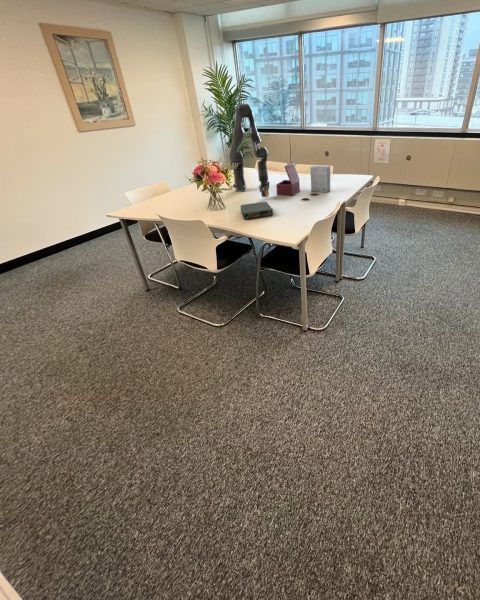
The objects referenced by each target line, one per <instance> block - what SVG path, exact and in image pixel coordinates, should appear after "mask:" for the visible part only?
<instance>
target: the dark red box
mask: <svg viewBox="0 0 480 600" xmlns="http://www.w3.org/2000/svg"><path fill="white" fill-rule="evenodd" d="M275 186H276V195H277V196H286V197H293V196H295V195H296V194H298V193H299V192H301V188H300V186H301V185H300V180H299V181H297V182H296V183H294V184H292V185H291V183H290V180H289V179H283V180H281V181H279V182H278V183H276V185H275Z"/></svg>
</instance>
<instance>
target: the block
mask: <svg viewBox="0 0 480 600" xmlns="http://www.w3.org/2000/svg"><path fill="white" fill-rule="evenodd" d="M260 193H261V195H260V196H261V197H262V198H268V197H269V196H270V191H269V189H268V190H265V197H263V196H262V192H260Z"/></svg>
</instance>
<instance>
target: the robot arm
mask: <svg viewBox="0 0 480 600" xmlns="http://www.w3.org/2000/svg"><path fill="white" fill-rule="evenodd" d="M234 115H235V116H234V127H233V133H232V139H231V140H232V141H231V144H230V145H231V146H230V149H229V153H228V160H229V162H230V163H231V164H236V165H235V166H234V167H232V172H233V178H234V179H233V181H234V183H233V184H232V186H231V187H230V188H224V187H223V188H222V187H221V189H220V190H225V191H226V190H227V191H229V190H232V189H233V188H234V189H235V191H236V192H238V193H239V192H240V193H243V192H246V191H248V190H247V184H246V176H245V171H244V169H245V168H244V155H243V153H242V151H241V150H239V148H240V147H241V146H242V145H243V143H244V141H245V136H246V132H245V131H246V130H245V129H244V126H243V125H242V123H243V119H247V120H248V124H249V126H248V127H249V128H248V135H249V139H250V141H251V144H252V148H253V155H254V156H255V158H257V159H259V160H258V161H257V175H258V181H259V182H260V184H258V189H259V192H260V193H261V192H262V195H261V197H262V196H263V197H262V198H266V197H265V190H269V189H270V181H269V174H268V168H267V167H268V165H267V161H268V153H269V152H268V149H267V148H266V146H260V145H261V144H262V139H261V138H260V134H259V131H258V128H257V126H256V121H255V118H254V113H253V110H252V107H251V105H250V104H249V103H240V104H237V105H236V106H235V114H234ZM259 146H260V147H259Z"/></svg>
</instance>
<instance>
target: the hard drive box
mask: <svg viewBox="0 0 480 600" xmlns="http://www.w3.org/2000/svg"><path fill="white" fill-rule="evenodd" d="M310 188H311V189H310V191H311V192H318V193H328V192H330V191H331V165H312V166H311V167H310Z"/></svg>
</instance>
